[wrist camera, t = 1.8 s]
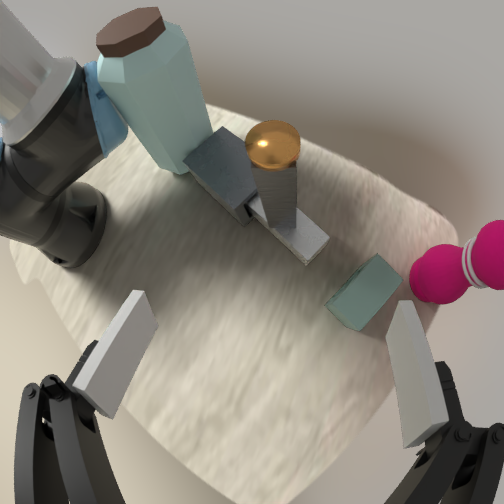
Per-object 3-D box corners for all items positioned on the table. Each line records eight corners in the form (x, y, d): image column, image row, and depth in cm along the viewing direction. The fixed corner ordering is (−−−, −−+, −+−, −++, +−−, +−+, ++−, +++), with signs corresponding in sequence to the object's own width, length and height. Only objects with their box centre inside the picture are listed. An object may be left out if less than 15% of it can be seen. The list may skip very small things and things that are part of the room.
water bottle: (181, 190, 39) (100, 72, 14) (145, 153, 40) (67, 46, 16) (230, 147, 40) (204, 8, 15) (191, 115, 41) (147, -6, 17)
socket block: (324, 305, 33) (332, 303, 26) (361, 265, 33) (377, 253, 26) (346, 327, 32) (359, 331, 25) (382, 286, 32) (403, 279, 25)
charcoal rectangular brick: (198, 182, 39) (182, 161, 33) (232, 151, 39) (222, 126, 33) (244, 227, 36) (234, 209, 30) (281, 191, 37) (278, 168, 30)
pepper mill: (432, 243, 32) (523, 183, 13) (455, 286, 30) (557, 258, 11) (396, 271, 32) (489, 225, 13) (421, 316, 30) (527, 312, 11)
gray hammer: (208, 177, 37) (152, 90, 20) (230, 158, 37) (189, 63, 20) (304, 267, 33) (315, 217, 15) (328, 243, 33) (360, 171, 15)
